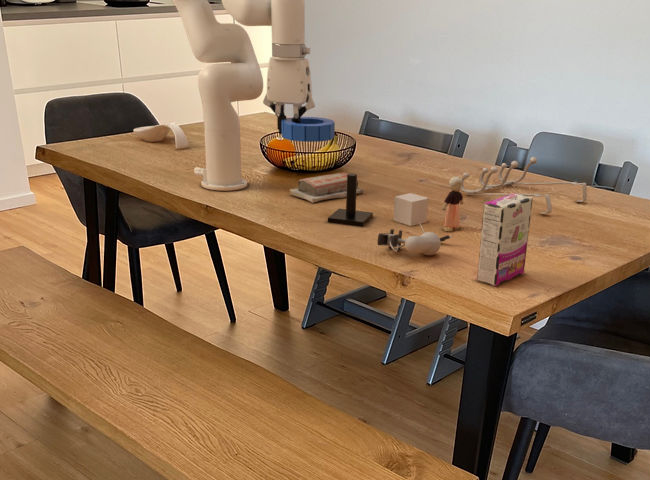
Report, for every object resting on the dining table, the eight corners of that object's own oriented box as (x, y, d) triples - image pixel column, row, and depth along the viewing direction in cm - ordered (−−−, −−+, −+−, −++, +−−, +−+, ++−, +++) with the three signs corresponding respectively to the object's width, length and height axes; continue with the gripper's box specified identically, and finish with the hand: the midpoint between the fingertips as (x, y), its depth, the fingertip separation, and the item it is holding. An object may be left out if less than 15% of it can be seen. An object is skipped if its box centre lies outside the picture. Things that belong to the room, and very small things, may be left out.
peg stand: (327, 222, 201) (328, 176, 196) (338, 213, 208) (340, 168, 203) (362, 226, 199) (364, 180, 193) (372, 217, 206) (375, 172, 201)
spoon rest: (127, 139, 277) (125, 117, 273) (157, 135, 284) (155, 113, 281) (168, 151, 263) (167, 128, 259) (198, 146, 270) (197, 124, 267)
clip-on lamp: (415, 249, 194) (372, 250, 180) (418, 222, 193) (375, 221, 178) (459, 256, 188) (417, 257, 173) (462, 228, 186) (420, 227, 172)
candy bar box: (504, 268, 176) (513, 192, 169) (524, 274, 173) (534, 197, 166) (474, 280, 169) (483, 201, 161) (494, 287, 166) (504, 207, 158)
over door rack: (501, 182, 244) (505, 149, 239) (588, 203, 226) (594, 167, 222) (457, 194, 229) (460, 159, 225) (547, 217, 212) (552, 179, 208)
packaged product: (340, 168, 230) (364, 176, 224) (340, 186, 232) (363, 194, 226) (289, 177, 219) (312, 185, 213) (289, 195, 222) (312, 203, 215)
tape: (274, 139, 193) (273, 123, 192) (293, 130, 204) (293, 115, 202) (323, 143, 190) (323, 127, 189) (340, 134, 201) (340, 119, 199)
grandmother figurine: (451, 233, 197) (456, 180, 191) (437, 230, 198) (442, 178, 192) (465, 226, 202) (471, 174, 196) (451, 223, 204) (456, 172, 198)
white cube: (409, 216, 208) (411, 192, 206) (426, 222, 205) (428, 198, 202) (393, 220, 205) (394, 196, 202) (410, 226, 201) (412, 201, 198)
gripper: (326, 52, 191) (325, 134, 199) (262, 48, 195) (264, 128, 203) (315, 55, 184) (315, 139, 193) (249, 51, 189) (251, 133, 197)
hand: (289, 133), depth 198 cm, fingers closed on tape, 2 cm apart
